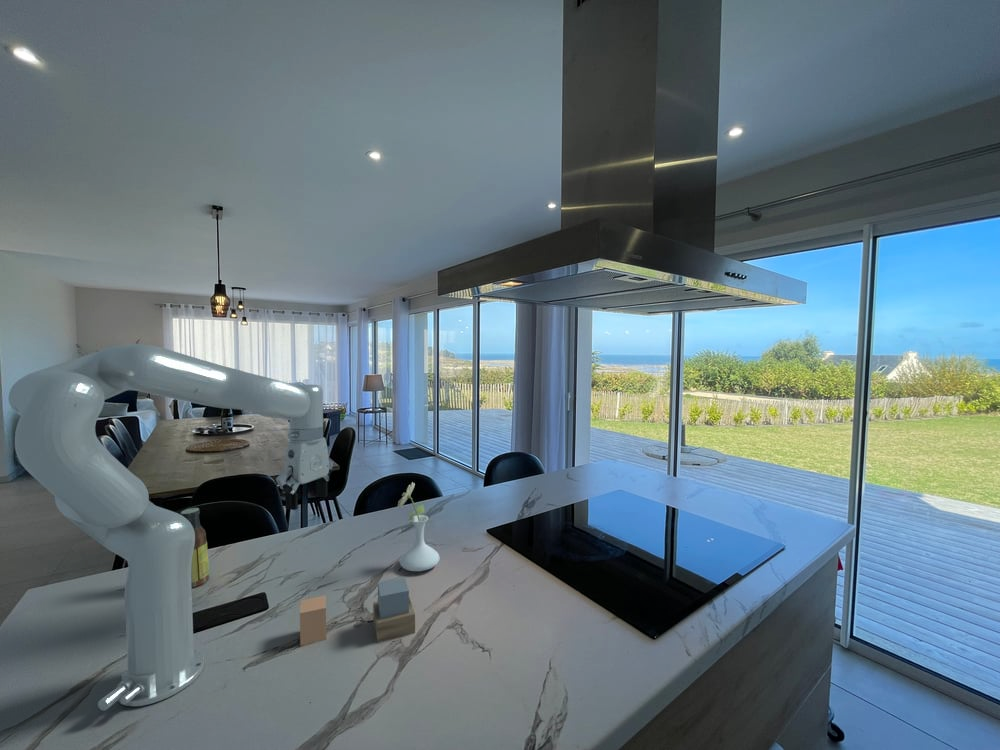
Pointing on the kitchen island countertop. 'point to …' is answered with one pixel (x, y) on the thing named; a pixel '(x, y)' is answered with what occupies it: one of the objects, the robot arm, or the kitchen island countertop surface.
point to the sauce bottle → (198, 549)
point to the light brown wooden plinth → (393, 624)
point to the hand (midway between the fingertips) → (307, 502)
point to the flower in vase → (418, 540)
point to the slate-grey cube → (393, 597)
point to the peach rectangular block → (313, 620)
